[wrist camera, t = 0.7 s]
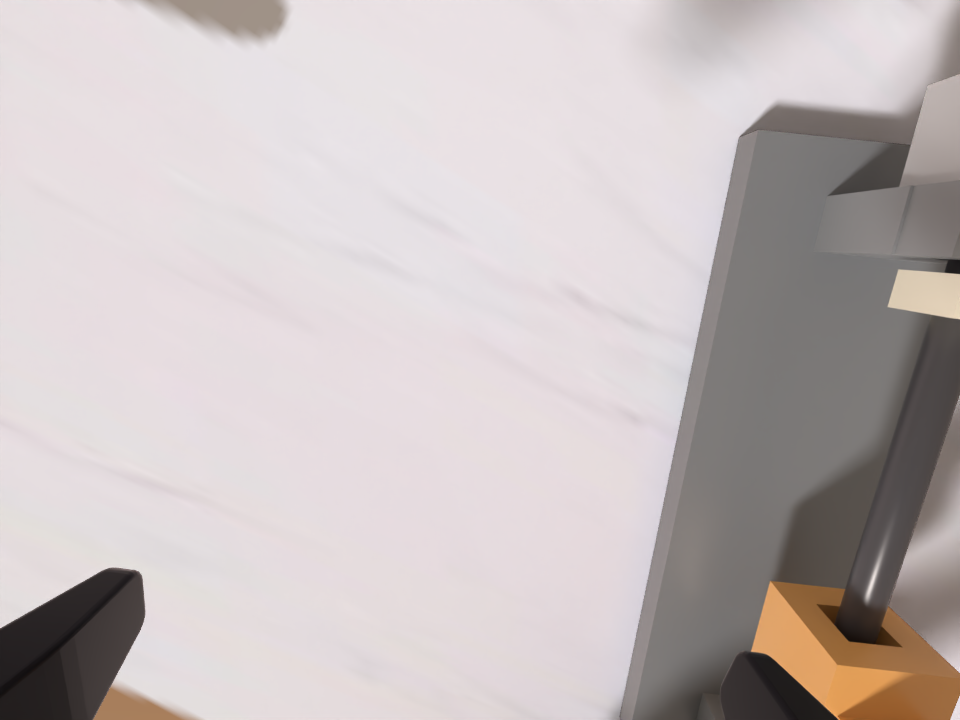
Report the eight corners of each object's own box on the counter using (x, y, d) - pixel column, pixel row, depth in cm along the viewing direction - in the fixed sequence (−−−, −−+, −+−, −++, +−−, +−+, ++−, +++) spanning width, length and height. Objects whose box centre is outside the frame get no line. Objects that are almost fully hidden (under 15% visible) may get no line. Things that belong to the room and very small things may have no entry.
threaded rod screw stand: (812, 738, 26) (936, 933, 19) (619, 716, 26) (667, 902, 19) (1005, 136, 19) (1317, 74, 12) (744, 109, 20) (895, 31, 12)
